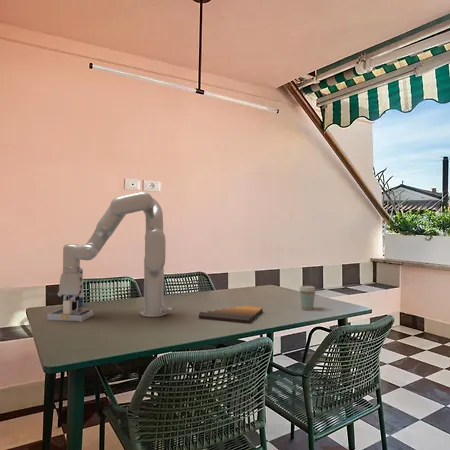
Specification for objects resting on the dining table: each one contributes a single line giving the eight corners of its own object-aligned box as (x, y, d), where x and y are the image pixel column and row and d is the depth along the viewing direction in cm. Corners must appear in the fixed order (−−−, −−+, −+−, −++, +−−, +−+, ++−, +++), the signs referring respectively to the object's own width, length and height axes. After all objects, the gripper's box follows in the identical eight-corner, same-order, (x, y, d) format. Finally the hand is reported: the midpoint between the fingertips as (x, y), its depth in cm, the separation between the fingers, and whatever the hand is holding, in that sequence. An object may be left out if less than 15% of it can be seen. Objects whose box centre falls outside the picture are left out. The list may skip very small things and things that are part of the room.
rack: (93, 315, 183) (93, 308, 183) (81, 321, 172) (81, 313, 172) (60, 314, 185) (60, 306, 185) (46, 319, 174) (47, 312, 174)
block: (77, 312, 183) (77, 298, 183) (69, 317, 175) (69, 301, 175) (72, 312, 183) (72, 297, 183) (63, 316, 175) (63, 301, 175)
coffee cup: (317, 308, 205) (317, 286, 205) (313, 311, 198) (314, 288, 198) (301, 306, 209) (301, 285, 209) (297, 309, 201) (297, 287, 201)
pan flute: (198, 319, 180) (249, 324, 172) (198, 312, 180) (249, 317, 172) (216, 309, 204) (262, 313, 195) (216, 302, 204) (262, 306, 195)
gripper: (91, 270, 182) (90, 308, 182) (59, 269, 184) (58, 307, 184) (83, 272, 174) (83, 312, 174) (50, 270, 176) (49, 310, 176)
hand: (70, 309), depth 179 cm, fingers closed on block, 2 cm apart
